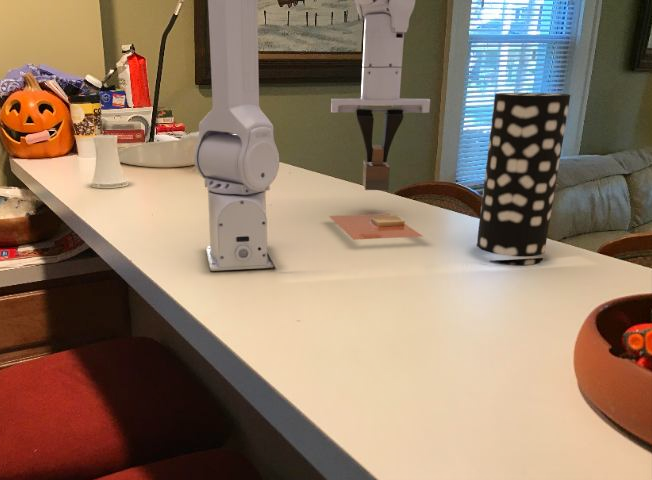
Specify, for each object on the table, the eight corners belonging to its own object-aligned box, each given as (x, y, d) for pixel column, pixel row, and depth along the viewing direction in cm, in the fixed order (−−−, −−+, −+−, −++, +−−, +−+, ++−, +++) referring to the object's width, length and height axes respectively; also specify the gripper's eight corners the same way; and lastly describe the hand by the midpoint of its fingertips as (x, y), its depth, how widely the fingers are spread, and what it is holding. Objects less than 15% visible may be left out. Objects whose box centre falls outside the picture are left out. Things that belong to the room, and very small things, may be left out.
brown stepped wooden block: (388, 190, 92) (391, 149, 90) (365, 190, 92) (367, 149, 90) (384, 182, 99) (386, 144, 96) (362, 181, 99) (364, 144, 97)
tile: (422, 244, 84) (423, 236, 84) (353, 247, 83) (353, 239, 83) (388, 220, 97) (389, 213, 97) (328, 223, 96) (328, 215, 95)
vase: (85, 184, 128) (79, 135, 124) (118, 180, 132) (113, 133, 129) (101, 189, 122) (95, 138, 119) (134, 185, 127) (130, 136, 123)
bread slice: (404, 225, 89) (404, 221, 89) (378, 226, 89) (378, 222, 89) (395, 219, 93) (395, 214, 93) (370, 220, 93) (370, 215, 92)
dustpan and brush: (190, 154, 170) (189, 119, 167) (254, 170, 145) (254, 129, 142) (111, 161, 158) (108, 124, 155) (166, 180, 133) (163, 135, 129)
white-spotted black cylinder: (500, 267, 75) (524, 96, 67) (463, 249, 82) (481, 93, 75) (557, 262, 77) (587, 95, 69) (516, 244, 84) (538, 92, 77)
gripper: (427, 67, 92) (420, 158, 97) (332, 67, 93) (329, 157, 98) (435, 67, 86) (427, 164, 91) (332, 67, 87) (329, 163, 92)
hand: (376, 161), depth 94 cm, fingers closed on brown stepped wooden block, 2 cm apart
